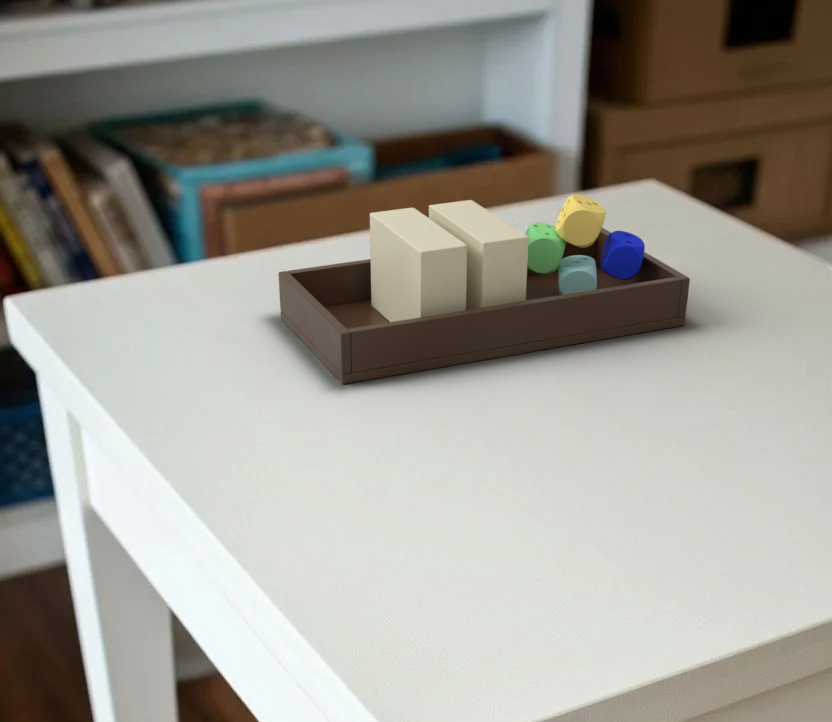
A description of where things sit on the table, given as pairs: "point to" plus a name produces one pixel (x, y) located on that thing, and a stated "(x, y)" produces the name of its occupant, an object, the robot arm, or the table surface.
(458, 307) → the block
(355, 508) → the table surface
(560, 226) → the dice
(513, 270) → the block
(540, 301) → the tray
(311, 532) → the table surface
